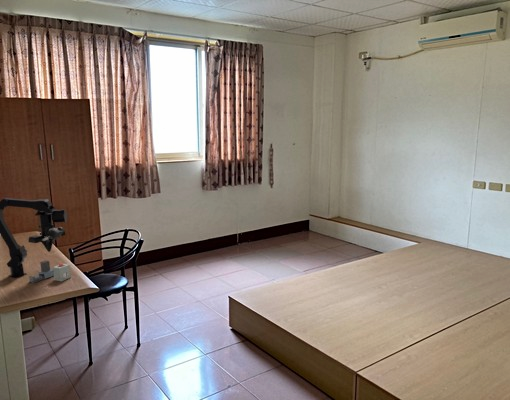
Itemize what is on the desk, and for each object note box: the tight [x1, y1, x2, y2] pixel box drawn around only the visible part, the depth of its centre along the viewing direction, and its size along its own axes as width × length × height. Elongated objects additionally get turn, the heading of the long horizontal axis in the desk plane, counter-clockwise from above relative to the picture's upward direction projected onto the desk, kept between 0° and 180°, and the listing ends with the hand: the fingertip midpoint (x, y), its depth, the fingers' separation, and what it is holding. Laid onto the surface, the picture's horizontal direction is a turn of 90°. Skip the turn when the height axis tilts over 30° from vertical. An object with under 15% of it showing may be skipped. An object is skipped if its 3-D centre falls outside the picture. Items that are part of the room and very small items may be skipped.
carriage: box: [37, 260, 54, 280], centre depth 227 cm, size 5×5×8 cm
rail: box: [28, 268, 53, 284], centre depth 226 cm, size 3×13×3 cm, turn 153°
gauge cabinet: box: [52, 263, 72, 282], centre depth 224 cm, size 6×6×7 cm
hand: (49, 251), depth 232 cm, fingers closed
